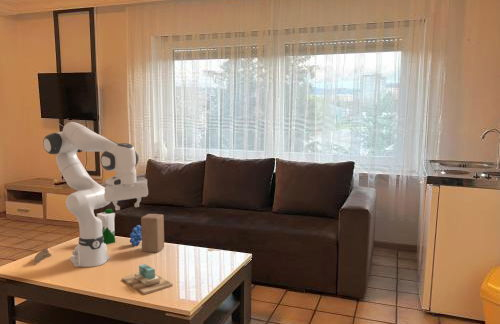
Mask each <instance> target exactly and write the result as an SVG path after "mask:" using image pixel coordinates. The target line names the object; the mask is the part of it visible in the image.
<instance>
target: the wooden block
mask: <svg viewBox="0 0 500 324" xmlns="http://www.w3.org/2000/svg"><path fill="white" fill-rule="evenodd" d="M164 222H165V219H164V214H161V213H160V214H159V213H147V214H145V215H143V216H141V218H140V226H141V236H142V240H141V252H145V253H159V252H160V251H162V250H163V249H164V248H165V224H164Z"/></svg>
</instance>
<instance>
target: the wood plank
mask: <svg viewBox="0 0 500 324" xmlns="http://www.w3.org/2000/svg"><path fill="white" fill-rule="evenodd" d="M51 256H52V253H50V252H49V249H48V247H46V248H44V249H42V250H40V251H39V252H38V253H36V254H35V256H34V261H33V263H34V266H36V265H37V264H39V263H40V262H42V261H43V260H45V259H47V258H50V257H51Z"/></svg>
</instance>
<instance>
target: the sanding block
mask: <svg viewBox="0 0 500 324" xmlns="http://www.w3.org/2000/svg"><path fill="white" fill-rule="evenodd" d="M138 270H139V272H137V273H134V274H135V279H136V280H137V281H139V282H141V283H142V284H144V285H146V286H147V287H149V286H152V285H155V284H159V283H160V278H159V277H157V276H155V274H156V273H155V271H156V269H155V268H153V267H151V266H149V265H147V264H145V263H143V264H140V265H138Z"/></svg>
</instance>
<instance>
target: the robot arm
mask: <svg viewBox="0 0 500 324" xmlns="http://www.w3.org/2000/svg"><path fill="white" fill-rule="evenodd" d="M42 142H43V143H42V144H43V148H44V150H45V151H46V153H47V154H49V155H56V157H55V162H56V165H57V167H58V169H59V170H58V171H60V173H61V176H62V177H63V179H64V180H65V182H66V184H67V185H68V187H70V188H71V189H74V190H76V191H74V192H72V193H70V194H69V195H68V196H67V197H66V198H65V206H66V209H67V210H68V211H69V212H70V213H72V214H73V215H74V216H75V217H76V219H77V222H78V227H79V236H78V237H79V238H78V244H77V245H76V246H75V247H74V250H72V251H71V252H72V253H71V254H72V255H71V256H69V260H70V261H71V263H72V266H73V267H75V268H78V267H82V268H91V267H98V266H101V265H104V264H106V263H107V261H108V260H110V259H111V256H110V255H108V248H107V244H105V243H104V237H103V233H102V221H101V219H99V218H98V217H97V216H95V212H94V210H97V209H102V208H104V207H106V206H108V205H110V204H111V202H112V204H113V206H114V208H115V211H120V210H121V206H119V205H118V202H119V201H125V200H132V199H136V202H135V203H134V207H135V208H139V207H140V203H141V201H142V198H146V197H148V195H149V189H148V179H147V178H146V177H144V176H143V177H137V170H136V167H137V165H138V163H139V160H140V159H139V157H140V156H139V153H137V151H136V150H135V146H134V145H132V144H130V143H126V142H125V143H124V142H120V143H117V142H115V141H113V140H111V139H110V138H107V137H105V136H103V135H101V134H98V133H96V132H95V131H94V130H91V129H89V128H88V127H87V126H85V125H83V124H81V123H78V122H75V121H69V122H67V123H66V124H65V125H64V126H63V128H62V131H58V132H52V133H50V134H47V135H45V136H44V138H43V141H42ZM81 152H90V153H93V152H95V153H97V152H100V153H101V152H102V154H101V155H100V165H101V167H102V168H103V169H104V170H105V171H110V172H111V171H112V172H113V171H115V172H116V174H115V175H113V176H112V177H108V178H107V179H106V180H105V184H106V185H105V186H103V185H101V184H100V183H99V182H97V181H96V180H94V179H93V178H92V177H91V175H90V174H89V173H88V172H87V170H86V168H85V167H84V165H83V164H82V162H81V161H80V159H79V157H78V153H81Z"/></svg>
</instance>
